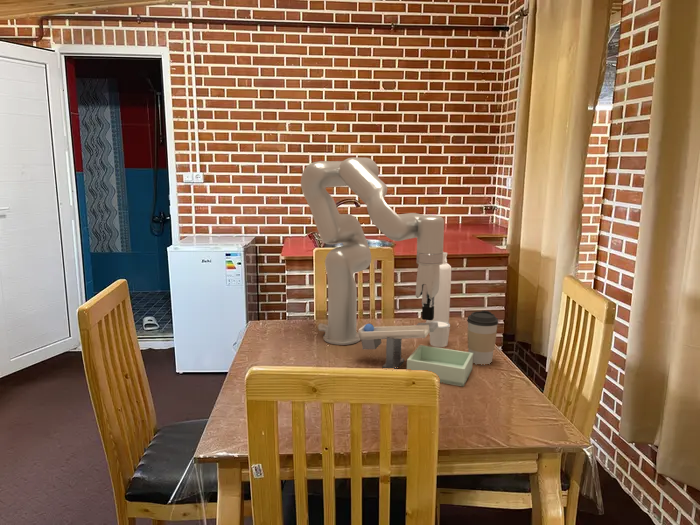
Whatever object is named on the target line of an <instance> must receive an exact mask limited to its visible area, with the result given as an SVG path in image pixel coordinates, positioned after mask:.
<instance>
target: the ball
mask: <svg viewBox="0 0 700 525" xmlns="http://www.w3.org/2000/svg"><path fill="white" fill-rule="evenodd" d="M364 325H365V326H364ZM364 325H363V326H364V331H365V332H369V331H374V327H375V326H374V325H373V324H372V323H367V324H364Z"/></svg>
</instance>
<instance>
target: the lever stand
mask: <svg viewBox="0 0 700 525" xmlns="http://www.w3.org/2000/svg"><path fill="white" fill-rule="evenodd" d="M402 342H403V339H394V338H390V337H387V339H386V342H385V343H386V346H385V347H386V349H385V352H386V353H385V363H384V364H383V365H382V369H383V368H394V369H397V370H398V369H399V368H400V367H401V365H402V364H403V363H404V362H405V358H403V357H402V344H403V343H402ZM395 367H396V368H395ZM397 367H399V368H397Z"/></svg>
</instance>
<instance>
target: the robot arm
mask: <svg viewBox="0 0 700 525" xmlns="http://www.w3.org/2000/svg"><path fill="white" fill-rule="evenodd" d="M300 178H301V179H300V187H301V191H302V193H303V196H304V199H305V200H306V204H308V207H309V209H310V212H311V216H312V218H313V221H314V224H315V227H316V228H317V232H318V235H319V237H320V239H321V241H322V242H323V243H324V244H325V245H337V244H342V245H341V246H338V247H335V248H332V249H331V250H329V252H328V253H327V254H326V256H325V258H324V259H325V260H324V262H325V263H324V266H325V271H326V277H327V294H328V295H327V302H328V303H327V324H325V323H320V322H319V323H318V326H317V329H318V331H319V332H324V334H323V340H324V341H325V342H326V343H328V344H331V345H336V346H337V345H338V346H346V345H347V346H348V345H353V344H356V343H359V342H360V341H361V340H360V339H359V332H357V308H358V305H357V304H358V302H357V300H358V299H357V296H358V294H357V293H358V290H357V288H358V287H357V283H356V280H355V277H354V274H356V273H359V272H363V271H365V270H366V269H368V268H369V267H370V266H371V262H372V253H371V252H372V251H371V249H370V246H369V244H368V240H367V238H366V235H365V232H364V230H363V227H362V225H361V223H360V221H359V219H357V217H355V216H354V215H353V214H348V213H342V214H341V213H340V212H339V210H338V206H337V204H336V201H335V199H334V197H332V195H331V194H330V193H329V192H328V190H327V189H326V188H336V187H337V188H339V187H348V188H349V189H350V190H351V191H352V192H353V193H354V194H355V195H356V196H357V197H358V198H359V199H360V201H362V202H363V203H364V204H365V205H366V210H367V213H368V216H369V218H370V220H371V223H373V225H374V226H375V227H376V228H377V229H378V230H379V231H380V232H381V233H382V234H383V235H384V236H385V237H386V238H388V239H389V240H392V241H394V242H400V241H404V240H410V239H415V238H416V264H417V265H418V267H417V273H416V281H415V283H416V285H415V297H416V298H417V299H418V298H420V297H421V310H422V311H421V320H425V321H426V320H433V319H434V300H435V295H436V294H437V293H438V291H439V281H440V266H439V265H442V264H443V252H444V238H445V237H444V234H445V219H444V218H443V217H442V216H440V215H425V214H420V213H417V212H408V213H407V212H406V213H401V214H399V213H398V214H397V212H396V211H395V210H394V209H392V208H391V207H390V206H389V205H388V203H387V202H386V200H385V197H386V195H387V192H388V186H387V184H386V183H385V182H384V181H383V180H382V179H380V177H379V166H378V164H377V163H376V162H375V161H374V160H373V159H372V158H370V157H358V156H357V157H353V156H352V157H348V158H346V159H344V160H337V161H336V160H331V161H329V160H320V161H313V162H311V163H308V164H307V166H306V167H305V168H304V169H303V170H302V174H301V177H300Z"/></svg>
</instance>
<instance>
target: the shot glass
mask: <svg viewBox="0 0 700 525" xmlns="http://www.w3.org/2000/svg"><path fill="white" fill-rule="evenodd" d="M433 322H438V327H437V328H436V329H435V330H434V332H430V333H429V344H430V346H431V347H438V348H444V347H447V346H448V342H449V337H450V330H451V324H450V322H449V323H447V322H443V321H433Z"/></svg>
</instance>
